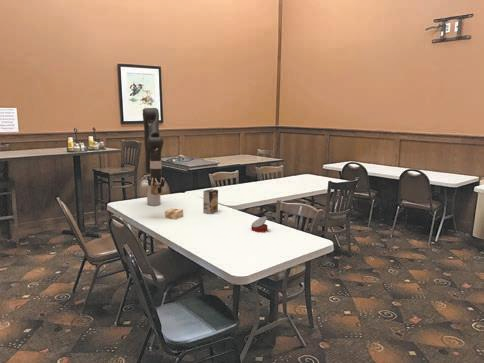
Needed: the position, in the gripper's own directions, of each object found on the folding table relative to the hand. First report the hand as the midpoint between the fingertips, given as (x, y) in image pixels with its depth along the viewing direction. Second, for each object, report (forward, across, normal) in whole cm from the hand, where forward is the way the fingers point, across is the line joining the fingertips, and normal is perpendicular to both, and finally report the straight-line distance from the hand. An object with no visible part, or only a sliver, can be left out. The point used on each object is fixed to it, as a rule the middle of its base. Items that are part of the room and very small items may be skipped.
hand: (156, 192), depth 272 cm
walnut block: (+1, 0, 0) cm, 1 cm away
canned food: (+18, +72, +11) cm, 75 cm away
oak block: (+18, +9, +7) cm, 21 cm away
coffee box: (+18, +22, +31) cm, 42 cm away
